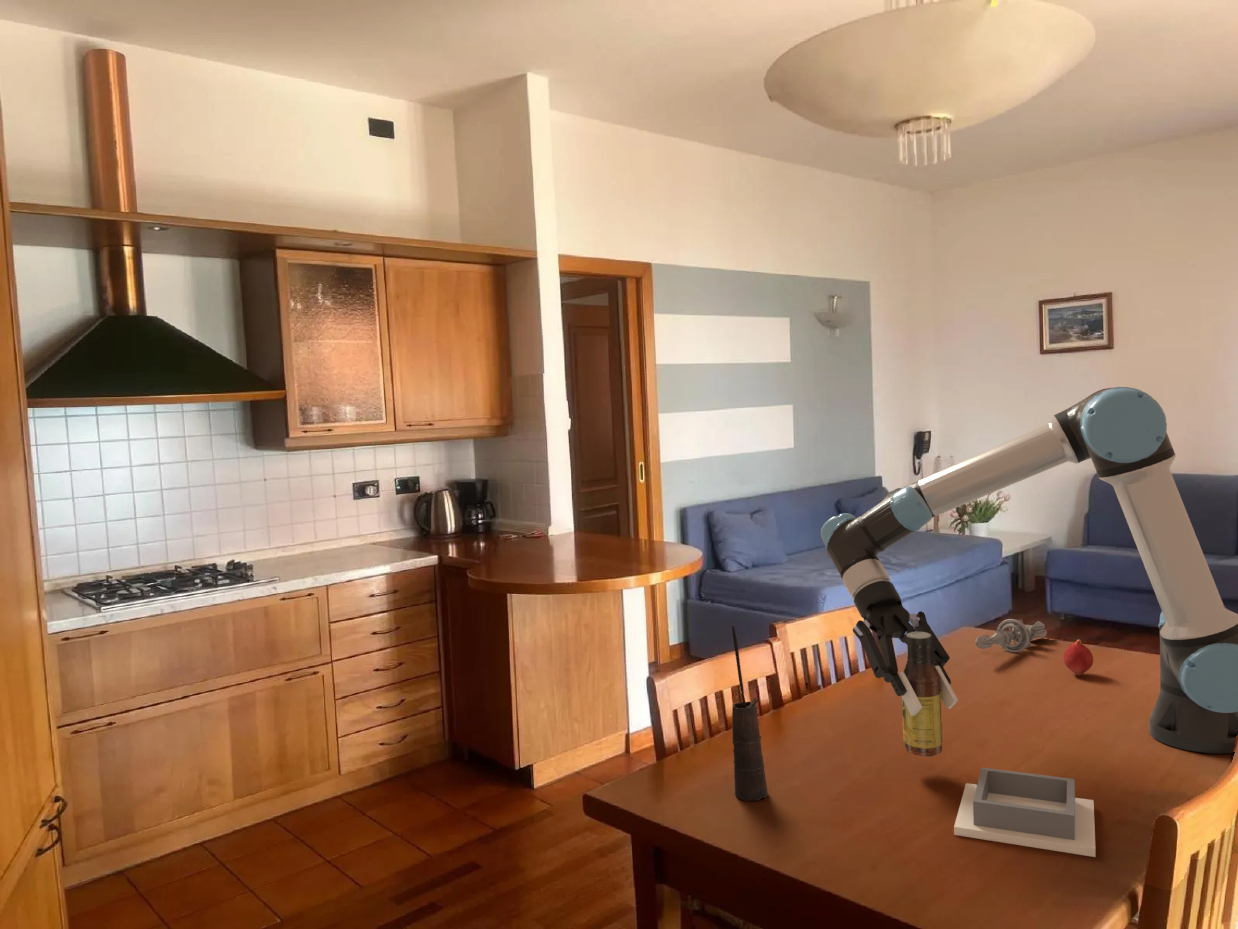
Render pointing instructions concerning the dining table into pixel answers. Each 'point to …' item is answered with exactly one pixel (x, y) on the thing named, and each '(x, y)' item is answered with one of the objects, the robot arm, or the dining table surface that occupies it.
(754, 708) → the butter churn
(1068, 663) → the onion
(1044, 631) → the spaceship
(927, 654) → the sauce bottle
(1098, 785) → the dining table surface
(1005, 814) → the bottle stand
